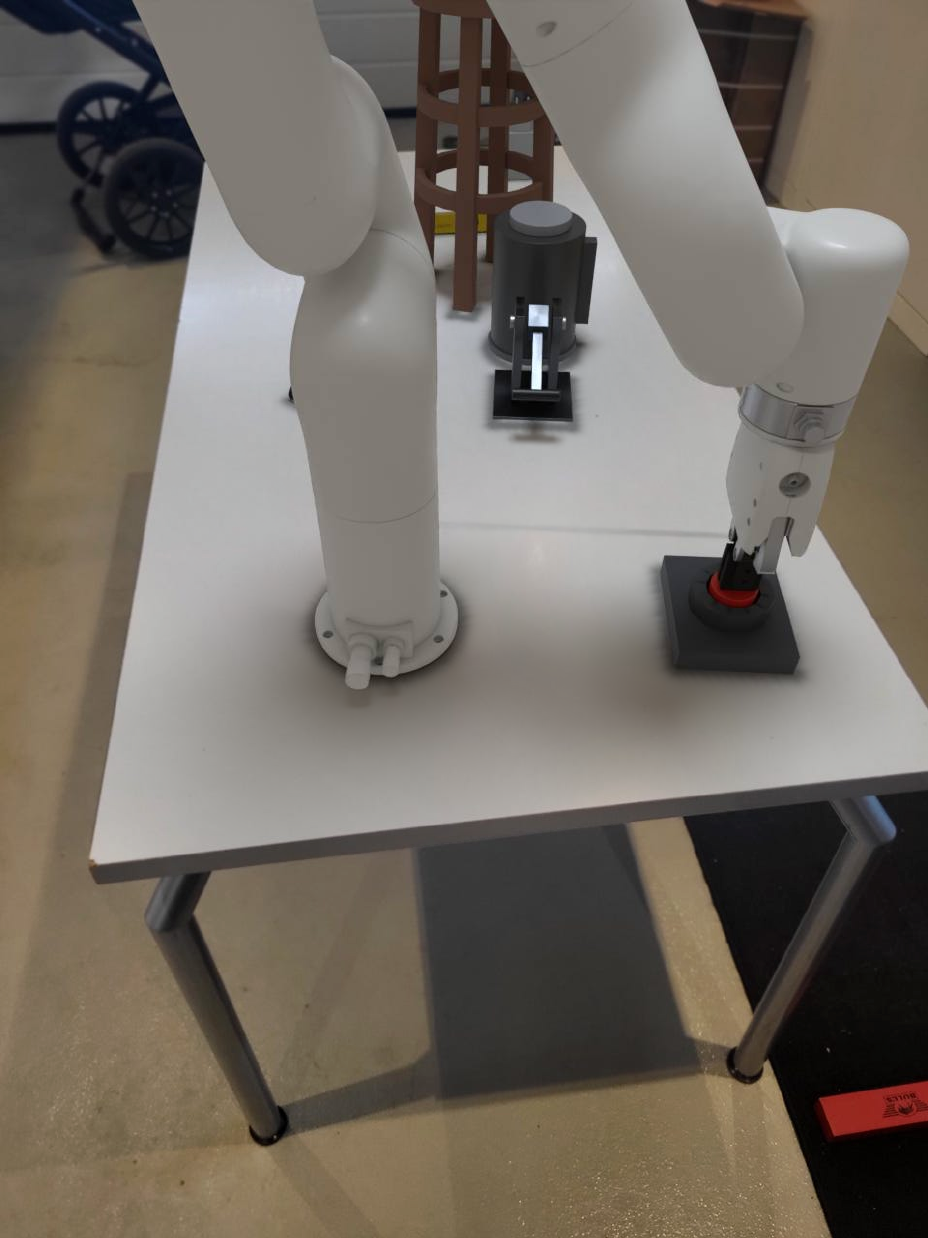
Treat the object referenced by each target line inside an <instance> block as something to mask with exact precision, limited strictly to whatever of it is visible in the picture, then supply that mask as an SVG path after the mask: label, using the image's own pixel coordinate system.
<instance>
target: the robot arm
mask: <svg viewBox="0 0 928 1238" xmlns="http://www.w3.org/2000/svg"><path fill="white" fill-rule="evenodd" d="M131 1H132V3H133V6H134V7H135V9H136V11H137V13H138V16H139V17H140V20H141V21H142V25H143V26H144V28H145V30H146V32H147V35H148V36H149V39H150V42H151V43H152V46H153V48H154V49H155V50H154V51H155V52H156V54H157V56H158V58H159V60H160V63H161V65H162V67H163V70H164V72H165V75H166V77H167V79H168V82H169V84H170V87H171V89H172V92H173V94H174V96H175V99H176V100H177V103H178V105H179V107H180V109H181V111H182V114H183V115H184V118H185V120H186V122H187V124H188V126H189V128H190V131H191V133H192V135H193V137H194V139H195V142H196V143H197V146H198V148H199V150H200V152H201V154H202V157H203V158H204V161H205V164H206V165H207V167H208V169H209V171H210V174H211V176H212V178H213V180H214V182H215V185H216V187H217V189H218V191H219V194H220V196H221V199H222V200H223V203H224V205H225V207H226V209H227V212H228V214H229V216H230V218H231V221H232V223H233V224H234V226H235V228H236V229H237V231H238V232H239V234H240V235H241V237H242V238H243V240H244V242H245V243H246V244H247V246H248V247H250V249H251V250H252V251H253V252H254V253H255V254H256V255H257V256H258V257H259V258H260V259H261V260H262V261H263V262H265V263H266V264H269V265H270V266H271V267H272V268H274V269H276V270H278V271H281V272H283V273H286V274H289V275H291V276H296V277H303V280H304V283H303V284H304V285H303V288H302V292H301V295H300V298H299V300H298V301H299V302H298V306H297V310H296V314H295V319H294V323H293V328H292V333H291V341H290V349H289V363H288V364H289V366H288V367H289V368H288V369H289V381H290V386H291V389H292V395H293V399H294V402H293V404H294V406H295V410H296V414H297V418H298V420H299V424H300V428H301V431H302V435H303V440H304V444H305V445H304V446H305V450H306V456H307V461H308V468H309V474H310V480H311V487H312V493H313V497H314V504H315V512H316V518H317V523H318V532H319V538H320V545H321V551H322V558H323V564H324V572H325V579H326V584H327V585H326V586H327V590H326V592H324V594H323V595H322V596H321V598H320V600H319V602H318V604H317V605H316V610H315V614H314V628H315V633H316V637H317V640H318V642H319V644H320V646H321V648H322V649H323V650H324V652H325V653H326V654H327V656H329V657H330V658H331V659H332V660H334V661H335V662H336V663H337V664H339V665H341V666H343V667H345V668H346V673H345V677H344V682H345V684H346V685H347V687H348V688H351V689H353V690H365V689H366V688H367V687H369V684H370V679H371V675H373V676H384V677H388V678H394V677H397V676H398V675H400V674H406V673H410V672H412V671H416V670H418V669H421V668H422V667H425V666H427V665H429V664H431V663H432V662H434V661H435V660H436V659H438V658H439V657H440V656H442V655H443V654H444V653H445V651H447V649H449V647H450V646H451V644H452V643H453V641H454V639H455V637H456V633H457V630H458V625H459V624H458V623H459V611H458V609H459V608H458V605H457V601H456V598H455V597H454V594H452V592H451V590H450V589H449V588H448V587H447V586H446V585H445V584H444V583H443V582H442V581H441V574H440V573H441V570H440V568H441V566H440V563H441V562H440V513H439V511H440V510H439V509H440V507H439V472H438V469H439V468H438V463H439V462H438V426H437V425H438V409H437V408H438V319H437V281H436V275H435V267H434V268H433V264H432V260H431V256H430V253H429V250H428V246H427V243H426V240H425V237H424V234H423V230H422V227H421V224H420V221H419V218H418V215H417V212H416V209H415V206H414V198H413V196H412V193H411V190H410V187H409V184H408V181H407V177H406V175H405V171H404V168H403V166H402V165H403V164H402V163H401V159H400V156H399V153H398V150H397V149H398V148H397V146H396V143H395V140H394V137H393V133H392V131H391V128H390V125H389V123H388V120H387V116H386V115H385V112H384V110H383V108H382V106H381V103H380V101H379V99H378V98H377V96H376V94H375V92H374V91H373V89H372V88H371V86H370V85H369V84H368V83H367V81H366V80H365V78H364V77H363V76H362V75H361V74H360V73H359V72H358V71H357V70H355V68H353V67H352V66H351V65H350V64H348V63H347V62H345V61H344V60H342V59H340V58H338V57H336V56H335V55H332V54H330V50H329V48H328V45H327V43H326V40H325V37H324V34H323V32H322V28H321V26H320V22H319V18H318V15H317V12H316V8H315V4H314V1H313V0H131ZM486 1H487V3H488V5H489V6H490V8H491V10H492V12H493V14H494V16H495V17H496V19H497V21H498V23H499V25H500V27H501V29H502V30H503V32H504V34H505V36H506V38H507V40H508V42H509V43H510V45H511V50H512V51H513V53H514V55H515V56H516V59H517V60H518V64H519V66H520V67H521V69H522V72H523V73H525V75H526V77H527V78H528V80H529V82H530V84H531V86H532V88H533V90H534V92H535V93H536V95H537V97H538V99H539V101H540V103H541V105H542V107H543V109H544V111H545V113H546V114H547V116H548V118H549V120H550V122H551V124H552V126H553V128H554V133H555V134H556V135H557V138H558V140H559V142H560V145H561V147H562V150H563V152H564V153H565V156H566V157H567V159H568V160H569V163H570V164H571V166H572V168H573V169H574V171H575V173H576V174H577V176H578V177H579V179H580V181H581V182H582V184H583V185H584V187H585V189H586V190H587V192H588V194H589V195H590V197H591V199H592V201H593V203H594V204H595V206H596V208H597V209H598V211H599V213H600V215H601V217H602V219H603V221H604V223H605V224H606V226H607V228H608V230H609V232H610V234H611V236H612V238H613V240H614V242H615V244H616V246H617V248H618V249H619V252H620V253H621V256H622V258H623V259H624V262H625V263H626V266H627V268H628V270H629V271H630V273H631V275H632V277H633V279H634V281H635V283H636V285H637V287H638V289H639V291H640V293H641V294H642V296H643V299H644V300H645V302H646V304H647V305H648V307H649V309H650V312H651V313H652V314H653V317H654V319H655V320H656V322H657V324H658V326H659V329H661V331H662V333H663V335H664V337H665V339H666V341H667V342H668V344H669V346H670V348H671V350H672V351H673V353H674V355H675V357H676V358H677V361H679V364H680V365H681V366H682V368H684V369H685V370H686V371H687V372H689V374H690V375H691V376H693V377H694V378H695V379H698V380H699V381H701V382H703V383H705V384H708V385H711V386H713V387H718V388H725V389H731V388H742V391H741V394H740V398H739V402H738V405H737V406H738V407H737V414H738V417H739V419H740V424H739V427H738V429H737V432H736V436H735V439H734V443H733V445H732V449H731V452H730V455H729V460H728V465H727V469H726V475H725V488H726V494H727V499H728V503H729V508H730V512H731V516H732V517H731V521H730V525H729V529H728V542H726V544H725V547H724V551H723V554H722V560H721V563H720V567H719V570H718V573H717V577H718V580H719V581H720V582H719V586H720V589H721V590H733V591H756V590H757V589H758V587H759V584H760V581H761V578H762V575H763V574H766V575H774V574H775V572H776V573H777V568H778V564H779V559H780V555H781V550H782V548H783V543H784V540H785V539H786V542H787V546H788V548H789V552H790V555H791V557H797V558H801V557H803V556H804V555H805V554H806V553H807V551H808V549H809V546H810V543H811V540H812V537H813V534H814V531H815V529H816V525H817V522H818V520H819V515H820V513H821V510H822V507H823V503H824V499H825V496H826V492H827V488H828V486H829V481H830V477H831V473H832V467H833V462H834V457H835V451H836V441H837V440H838V439H839V438H841V436H842V435H843V434H844V433H845V429H846V426H847V424H848V422H849V419H850V416H851V414H852V411H853V408H854V406H855V404H856V400H857V398H858V395H859V392H860V390H861V388H862V385H863V382H864V379H865V377H866V375H867V371H868V368H869V367H870V363H871V361H872V358H873V356H874V353H875V351H876V349H877V348H876V347H877V345H878V343H879V340H880V337H881V335H882V331H883V330H884V327H885V324H886V322H887V319H888V316H889V313H890V311H891V309H892V305H893V303H894V301H895V298H896V295H897V293H898V290H899V288H900V285H901V282H902V279H903V276H904V274H905V272H906V268H907V266H908V262H909V258H910V242H909V239H908V236H907V234H906V233H905V231H904V230H903V229H902V228H901V226H899V225H898V224H897V223H896V222H895V221H893V220H891V219H889V218H887V217H886V216H885V217H884V216H883V215H880V214H876V213H874V212H870V211H867V210H862V209H856V208H850V207H849V208H847V207H830V208H829V207H828V208H820V209H816V210H812V211H806V212H805V211H798V210H791V209H790V210H789V209H785V208H779V207H774V206H768V205H766V202H765V200H764V197H763V195H762V193H761V190H760V188H759V185H758V183H757V181H756V178H755V175H754V174H753V171H752V169H751V167H750V164H749V161H748V159H747V157H746V155H745V152H744V150H743V147H742V144H741V142H740V140H739V138H738V136H737V133H736V130H735V128H734V125H733V123H732V120H731V117H730V115H729V113H728V110H727V107H726V105H725V102H724V99H723V96H722V94H721V90H720V87H719V85H718V81H717V77H716V74H715V72H714V70H713V67H712V64H711V62H710V58H709V55H708V53H707V51H706V48H705V45H704V43H703V41H702V38H701V36H700V34H699V31H698V29H697V26H696V24H695V22H694V19H693V17H692V14H691V12H690V11H691V10H690V9H689V6H688V3H687V1H686V0H486ZM784 538H785V539H784Z"/></svg>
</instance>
